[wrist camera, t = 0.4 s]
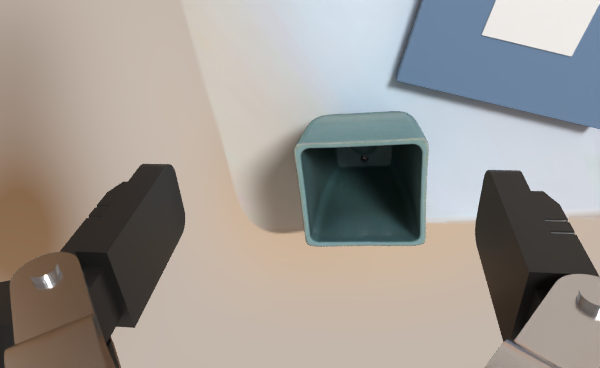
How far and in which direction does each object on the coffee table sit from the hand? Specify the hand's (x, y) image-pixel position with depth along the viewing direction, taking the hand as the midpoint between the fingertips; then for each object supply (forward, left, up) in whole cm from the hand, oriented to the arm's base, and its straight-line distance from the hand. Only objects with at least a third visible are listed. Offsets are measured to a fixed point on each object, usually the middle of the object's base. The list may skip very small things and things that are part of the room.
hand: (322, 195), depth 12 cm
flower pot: (+11, +4, -27) cm, 29 cm away
